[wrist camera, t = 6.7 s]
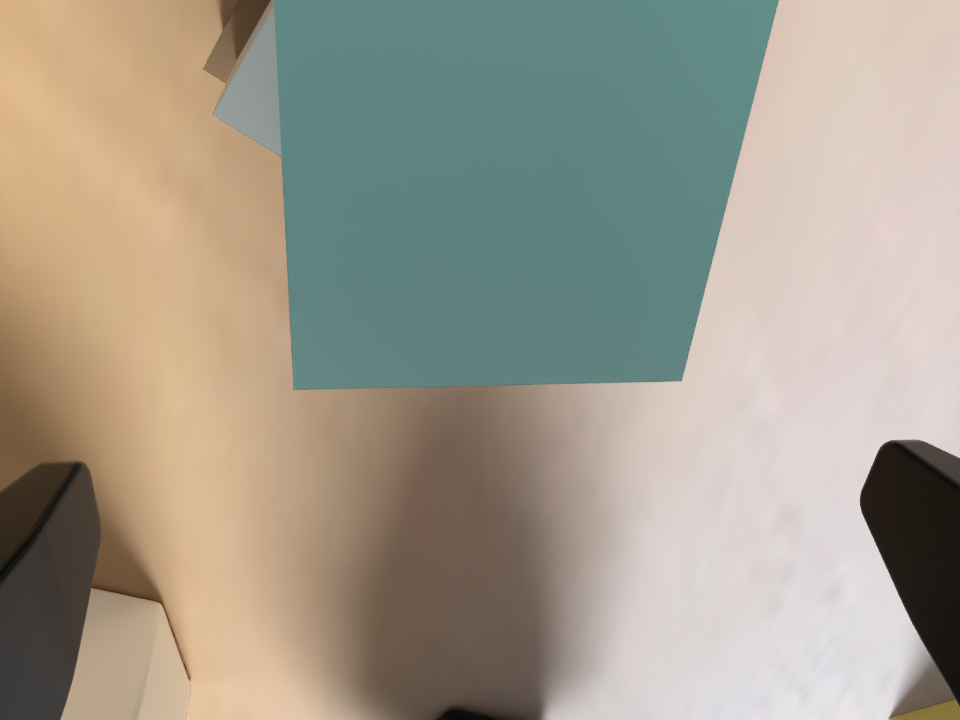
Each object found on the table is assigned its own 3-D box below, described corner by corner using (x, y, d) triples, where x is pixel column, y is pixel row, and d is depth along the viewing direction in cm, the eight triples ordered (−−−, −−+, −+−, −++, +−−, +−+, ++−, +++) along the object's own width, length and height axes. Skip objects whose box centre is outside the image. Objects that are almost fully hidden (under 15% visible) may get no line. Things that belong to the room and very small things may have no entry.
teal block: (574, 218, 14) (681, 381, 10) (304, 214, 13) (292, 390, 9) (619, -82, 11) (787, -38, 7) (292, -109, 11) (268, -78, 6)
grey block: (453, 203, 17) (478, 278, 14) (235, 61, 15) (211, 114, 12) (608, -6, 15) (673, 30, 12) (386, -201, 13) (400, -215, 10)
